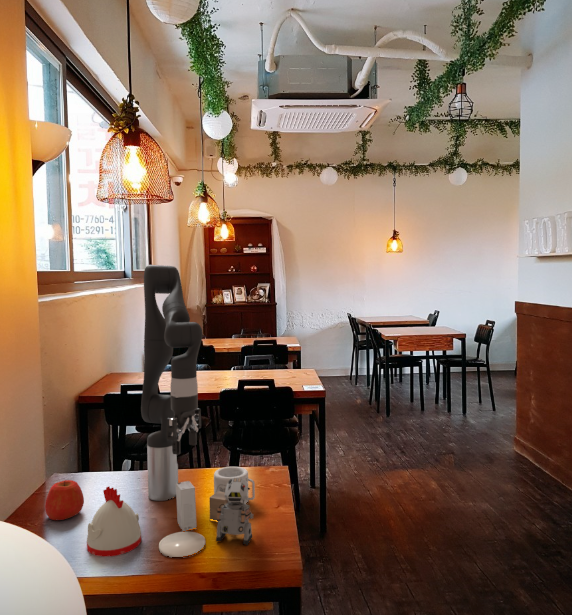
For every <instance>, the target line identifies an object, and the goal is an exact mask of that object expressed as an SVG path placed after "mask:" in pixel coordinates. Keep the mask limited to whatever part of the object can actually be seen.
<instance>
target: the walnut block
mask: <svg viewBox="0 0 572 615" xmlns="http://www.w3.org/2000/svg"><path fill="white" fill-rule="evenodd" d="M224 494H225V492H220V491H217V492H216V493H215V494H214V493H213V494H212V495H211V496H209V520H210V519H213V520H217V510H218V508H219V506H220V505H221V504H227V503H228V500H226V498H225V495H224ZM221 506H223V505H221ZM221 506H220V508H221Z"/></svg>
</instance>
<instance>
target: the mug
mask: <svg viewBox="0 0 572 615" xmlns="http://www.w3.org/2000/svg"><path fill="white" fill-rule="evenodd" d="M233 478H242V479H243V480H244V481H245V482H246V483H247V484H248V485H249V482H250V483H251V484H252V485H251V487H252V488H251V489H252V490H251V491H252V492H251V493H252V494H251V495H252V497H249V491H248V492H247V497H246V499H245V501H244V504H246V503H247V502H248V503H249V501H253V500H254V499H255V497H256V496H255V495H256V492H255V491H256V490H255V488H256V487H255V486H256V485H255V481H254V480H253V479H252V478H249V471H248V470H247V469H246V468H245V467H241V466H225V467H222V468H221V467H220V468H219V469H216V470H215V471H214V473H213V495H214V494H215V493H216V492H217V491H220V492H225V490H226V486H227V484H228V482H229V480H230V479H233ZM241 502H242V503H243V500H242V501H241ZM248 503H247V504H248ZM247 504H246V505H247Z"/></svg>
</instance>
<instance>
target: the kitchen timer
mask: <svg viewBox="0 0 572 615" xmlns="http://www.w3.org/2000/svg"><path fill="white" fill-rule="evenodd" d="M102 492H103V496H104V497H103V498H104V499H105V500H104V501H105V502H104V503H103V504H102V505H100V507H99V508H98V509H97V510H96V511H95V514H94V515H93V518H92V520H91V522H90V523H88V524H87V537H86V549H87V552H89V554H91V555H93V556H97V557H113V556H114V557H115V556H120V555H123V554H127V553H129V552H131V551H133V550H135V549H136V548H137V547H139V545H141V542H142V530H141V526H140V522H139V521H140V517H139V516H140V515H139V514H138V512H137V513H135V512H134V509H132V507H131V506H130V505H129V504H128V503H127V502H125V501H124V499H121V494H120V493H119V494H118V489H117V488H114V487H110V486H106V487H105V489H103V491H102ZM126 552H127V553H126Z"/></svg>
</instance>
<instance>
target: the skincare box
mask: <svg viewBox="0 0 572 615" xmlns="http://www.w3.org/2000/svg"><path fill="white" fill-rule="evenodd" d="M175 498H176V514H177V515H176V516H177V525H178V524H179V525H178V527H179V528H180V530H181V529H182V530H181V532H183V531H185V532H187V531H186V530H189V529H193V528H196V527H197V526H198V525H197V505H196V487H195V486H194V485H193V483H192V482H191V481H190V480H186V481H181V482H178V483H176V496H175ZM196 529H197V528H196Z"/></svg>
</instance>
